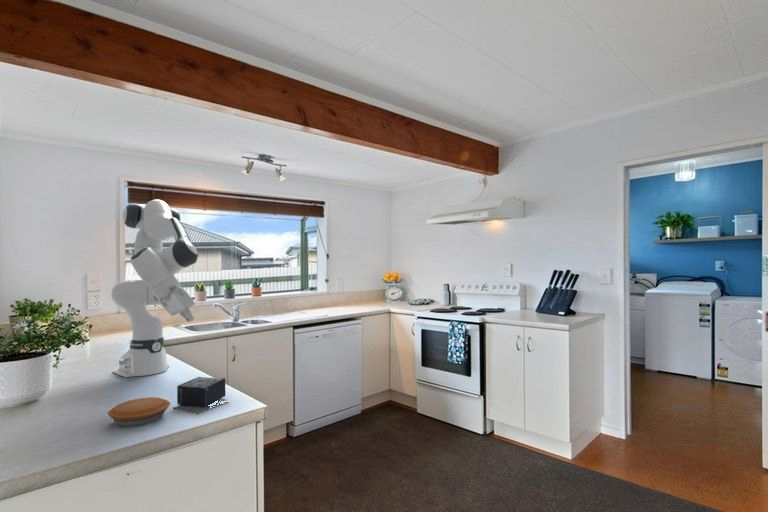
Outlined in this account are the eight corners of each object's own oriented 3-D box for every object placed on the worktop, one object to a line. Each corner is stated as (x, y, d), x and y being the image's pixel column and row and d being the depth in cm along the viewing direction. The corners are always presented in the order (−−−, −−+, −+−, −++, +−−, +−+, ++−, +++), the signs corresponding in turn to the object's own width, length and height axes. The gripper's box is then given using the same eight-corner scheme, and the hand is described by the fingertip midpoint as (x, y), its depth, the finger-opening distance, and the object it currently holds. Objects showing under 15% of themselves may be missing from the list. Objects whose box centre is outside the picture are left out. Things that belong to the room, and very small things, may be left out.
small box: (176, 406, 129) (205, 408, 126) (176, 385, 129) (205, 387, 126) (199, 395, 139) (226, 396, 137) (198, 376, 139) (225, 377, 137)
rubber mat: (172, 408, 127) (172, 407, 127) (205, 397, 138) (205, 396, 138) (196, 414, 122) (196, 413, 122) (228, 402, 133) (228, 401, 133)
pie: (100, 421, 118) (100, 403, 118) (158, 407, 129) (158, 391, 129) (116, 435, 107) (117, 416, 107) (178, 418, 119) (178, 401, 119)
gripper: (183, 279, 139) (208, 311, 142) (168, 289, 154) (190, 318, 157) (166, 289, 135) (192, 322, 137) (152, 298, 150) (176, 328, 153)
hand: (191, 320), depth 147 cm, fingers closed
